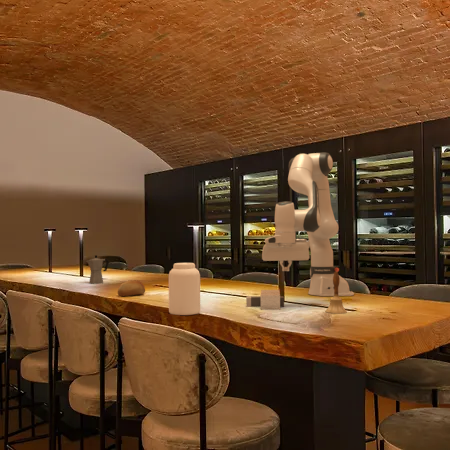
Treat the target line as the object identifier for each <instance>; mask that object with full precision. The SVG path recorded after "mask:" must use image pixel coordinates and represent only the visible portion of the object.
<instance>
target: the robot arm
mask: <svg viewBox="0 0 450 450" xmlns="http://www.w3.org/2000/svg"><path fill="white" fill-rule="evenodd" d="M333 161H334V160H333V158H332V155H331V154H330V153H329V152H316V153H315V152H313V153H308V154H307V153H299V154H297V155H295V156H294V157H292V158H290V160H289V162H288V177H287V181H288V182H287V183H288V185H289V188H291V189H292V190H293V191H294V192H295V193H298V194H302V195H304V196H307V200H308V201H307V202H308V208H305V209H295V204H294V202H292V201H290V200H289V201H288V200H287V201H286V200H285V201H279V202H277V203H276V204H275V208H274V225H275V229H274V235H271V236H269V237H267V238H265V239H264V243H265V244H264V245H263V247H262V252H261V253H262V254H261V259H262V260H263V262H267V261H269V262H271V261H273V262H275V261H279V264H280V266H281V268H282V269H281V270H282V272H290V268H291V265H292V263H293V261H309V259H310V267H309V276H310V284H309V290H308V293H307V294H308V295H311V296H320V297H334V285H333V276H334V273H335V272H338V273H339V271H340V268H339V267H336V266H334V251H333V248H332V245H331V242H330V239H332V238H333V237H335V236H337V234H338V232H339V223H338V222H337V220H336V218H335V215H334V211H333V207H332V202H331V193H330V185H329V184H330V183H329V178H328V176H329V174H330V173H331V171H332V170H333V167H334V162H333ZM297 232H306V234H307V237H308V239H306V238H296V233H297ZM284 261H285V262H286V261H287V263H288V264H287V266H284V265H283V263H284ZM339 278H340V282H339V286H338V296H339V297H342V296H344V297H347V296H350V297H351V296H354V294H355V292H353V291H352V290H351V291H350V286H349V282H348V281H347V280H346V279H344V278H343V277H342V276H341V275H339Z"/></svg>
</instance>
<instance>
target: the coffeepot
mask: <svg viewBox="0 0 450 450" xmlns="http://www.w3.org/2000/svg"><path fill="white" fill-rule="evenodd" d="M94 257H95V258H91V259H87V260H85V262H86V263H87V264H88V265H89V269H90V275H89V276H90V277H89V284H90V285H97V284H103V283H104V280H103V279H104V278H103V274H102V271H103V272H107V271H108V267H109V263H110V261H109V259H108V258H98V255H94ZM103 262H104V263H105V266H104V267H105V268H104V269H103Z"/></svg>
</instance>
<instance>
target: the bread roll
mask: <svg viewBox="0 0 450 450" xmlns="http://www.w3.org/2000/svg"><path fill="white" fill-rule="evenodd" d="M145 288H146V287H145V285H144V284H143V283H142V282H141V281H139V280H135V279H134V280H133V279H131V280H130V279H129V280H126V281H124V282H122V283H121V284H120V286H119V287H118V290H117V295H118V297H121V298H122V297H129V296H137V295H139V296H140V295H143V294H145V293H146V289H145Z"/></svg>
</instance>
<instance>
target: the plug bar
mask: <svg viewBox="0 0 450 450" xmlns="http://www.w3.org/2000/svg"><path fill="white" fill-rule="evenodd" d="M284 300H285V298H284V296H283V295H282V296H281V295H280V308H284V307H285V301H284ZM245 302H246V303H245V304H246V308H261V296H259V295H258V296H257V295H256V296H255V295H253V296H251V295H250V296H247V295H246V300H245Z"/></svg>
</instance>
